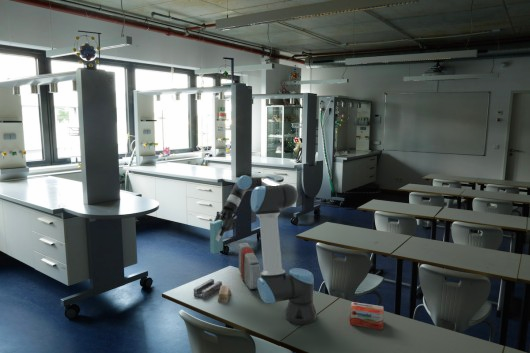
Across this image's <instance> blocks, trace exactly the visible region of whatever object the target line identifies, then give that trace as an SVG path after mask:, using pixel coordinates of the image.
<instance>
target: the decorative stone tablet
mask: <svg viewBox="0 0 530 353" xmlns="http://www.w3.org/2000/svg"><path fill="white" fill-rule="evenodd" d="M238 271H239V272H240V276H241V279H242V281H243V282H244V283H245V284H246V286H247V288H249V290H255V289H257V290H258V286H257V280H258V279H259V278H261V272H262V270H261V268H260V263H259V260H258V258H257V256H256V255H255V251H254V249H253V248H251V247H250V245H249V243H248V242H240V243H239V244H238Z"/></svg>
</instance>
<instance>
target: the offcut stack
mask: <svg viewBox="0 0 530 353" xmlns="http://www.w3.org/2000/svg"><path fill="white" fill-rule="evenodd" d="M231 294H232V289H230V285H222V286H221V287H220V290H219V293H218V297H217V303H228V302H229V299H230V296H231Z"/></svg>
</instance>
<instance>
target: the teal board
mask: <svg viewBox="0 0 530 353" xmlns="http://www.w3.org/2000/svg"><path fill="white" fill-rule="evenodd" d="M223 224H224V221H223V220H217V221H212V222H210V223H209V239H210V240H209V243H210V244H209V245H210V248H209V249H210V254H213V255H215V254H217V253H218V252H221V251H223V250H224V237H223V236H224V235H223V236H221V238H220V240H219V242H217V241H216V240H215V238H216V236H217V234H218V232H219V230H220V229H221V228H222V226H223Z"/></svg>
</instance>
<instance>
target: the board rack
mask: <svg viewBox="0 0 530 353" xmlns="http://www.w3.org/2000/svg"><path fill="white" fill-rule="evenodd" d="M221 286H223V281H221V280H219V281H216V282H215V279H213V278H210V279H209V280H207V281H204V282H203V283H201V284H200V285H198V286H196V287H194V288H193V296H194V297H197V298H200V299H204V300H206V299H207V298H209V297H211V296H213V295H214V294H216V293H217V292H218V291H220V287H221Z"/></svg>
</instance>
